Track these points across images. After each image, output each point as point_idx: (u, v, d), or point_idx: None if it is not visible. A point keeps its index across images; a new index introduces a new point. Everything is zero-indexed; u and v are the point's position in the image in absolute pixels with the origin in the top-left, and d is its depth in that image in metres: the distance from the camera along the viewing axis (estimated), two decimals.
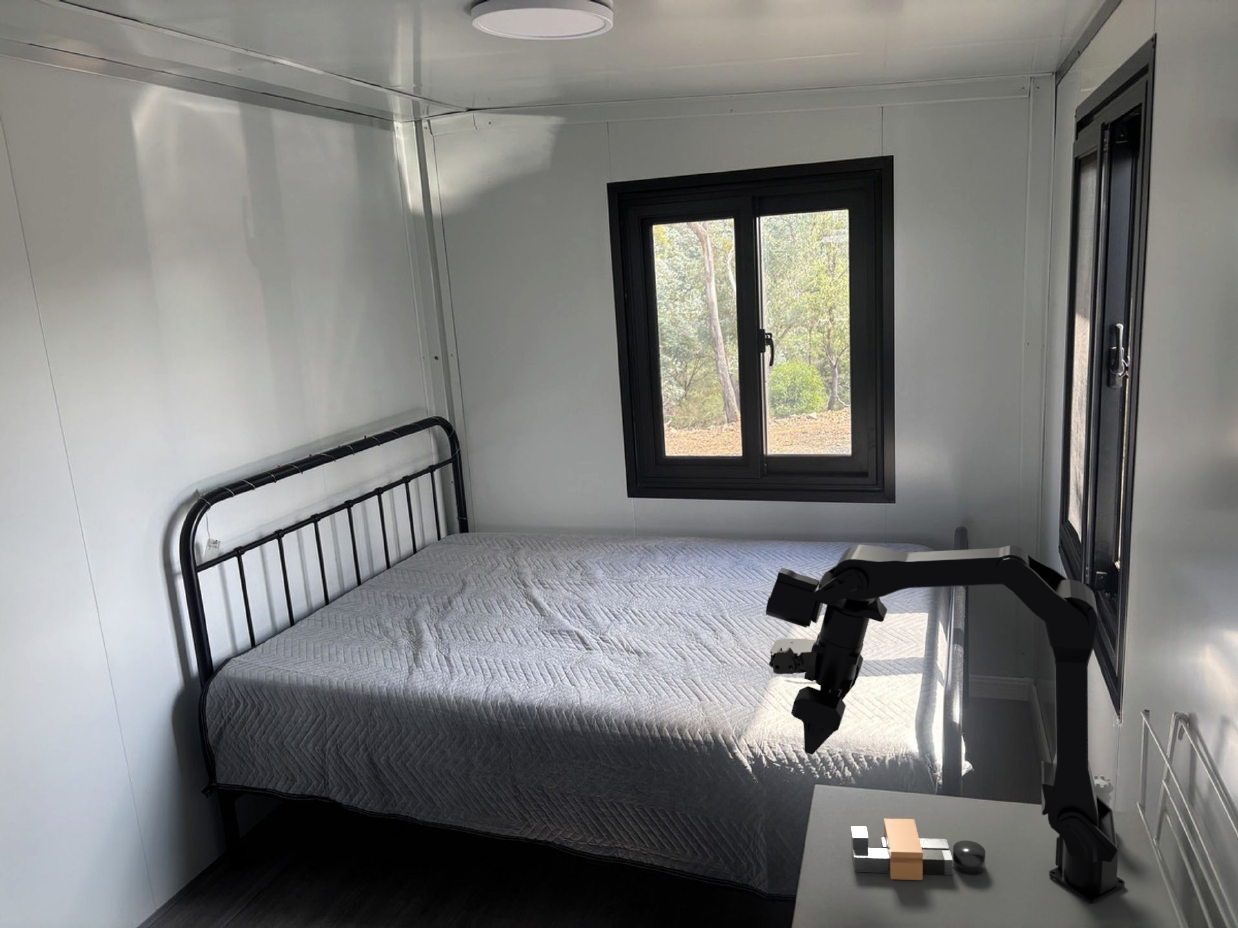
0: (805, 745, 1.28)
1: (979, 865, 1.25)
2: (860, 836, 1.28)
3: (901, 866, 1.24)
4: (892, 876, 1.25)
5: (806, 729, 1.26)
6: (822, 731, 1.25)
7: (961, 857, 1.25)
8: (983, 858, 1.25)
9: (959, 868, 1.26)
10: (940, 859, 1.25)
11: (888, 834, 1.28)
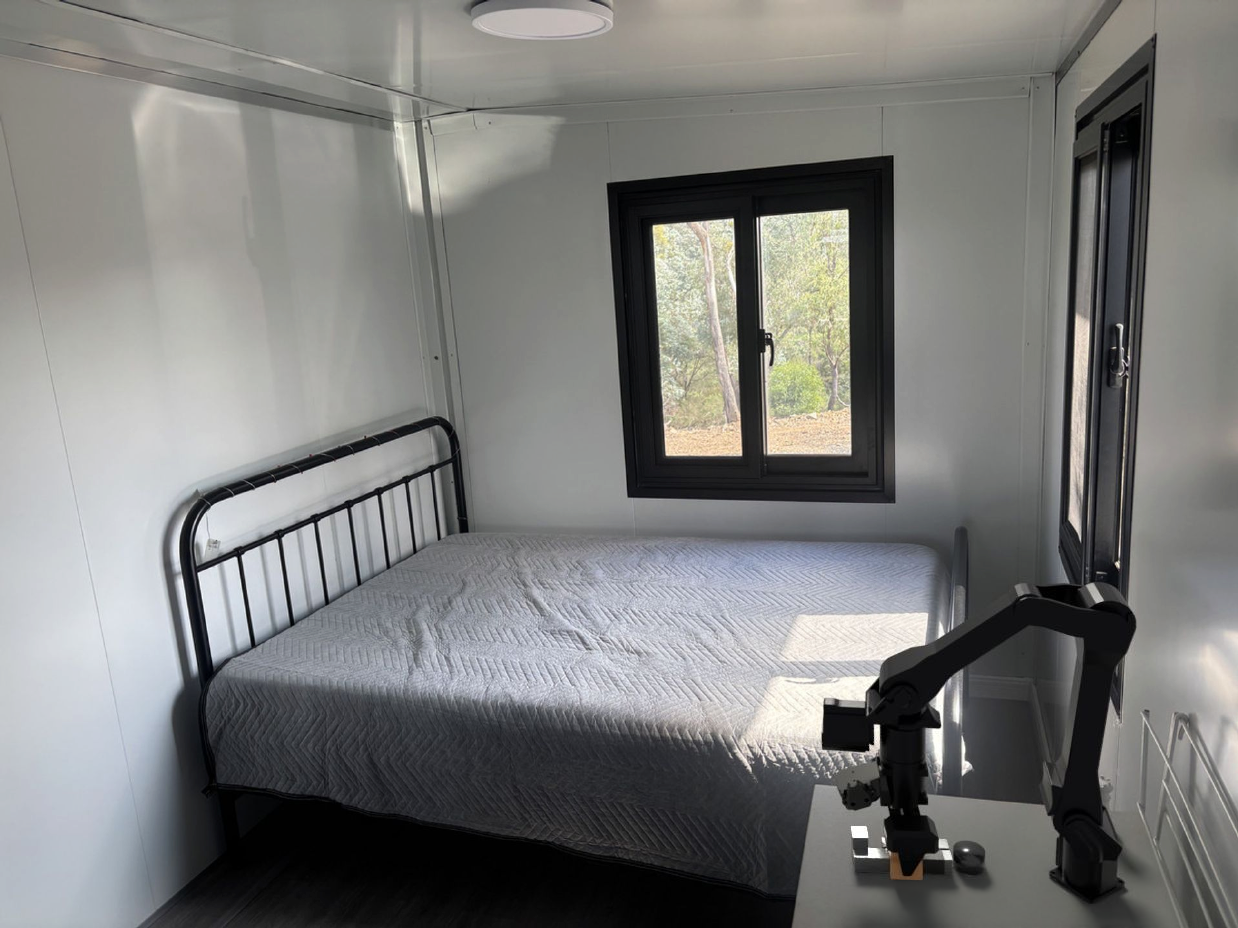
0: (902, 869, 1.24)
1: (979, 865, 1.25)
2: (860, 836, 1.28)
3: None
4: (892, 876, 1.25)
5: (901, 854, 1.22)
6: None
7: (961, 857, 1.25)
8: (983, 858, 1.25)
9: (959, 868, 1.26)
10: (940, 859, 1.25)
11: None
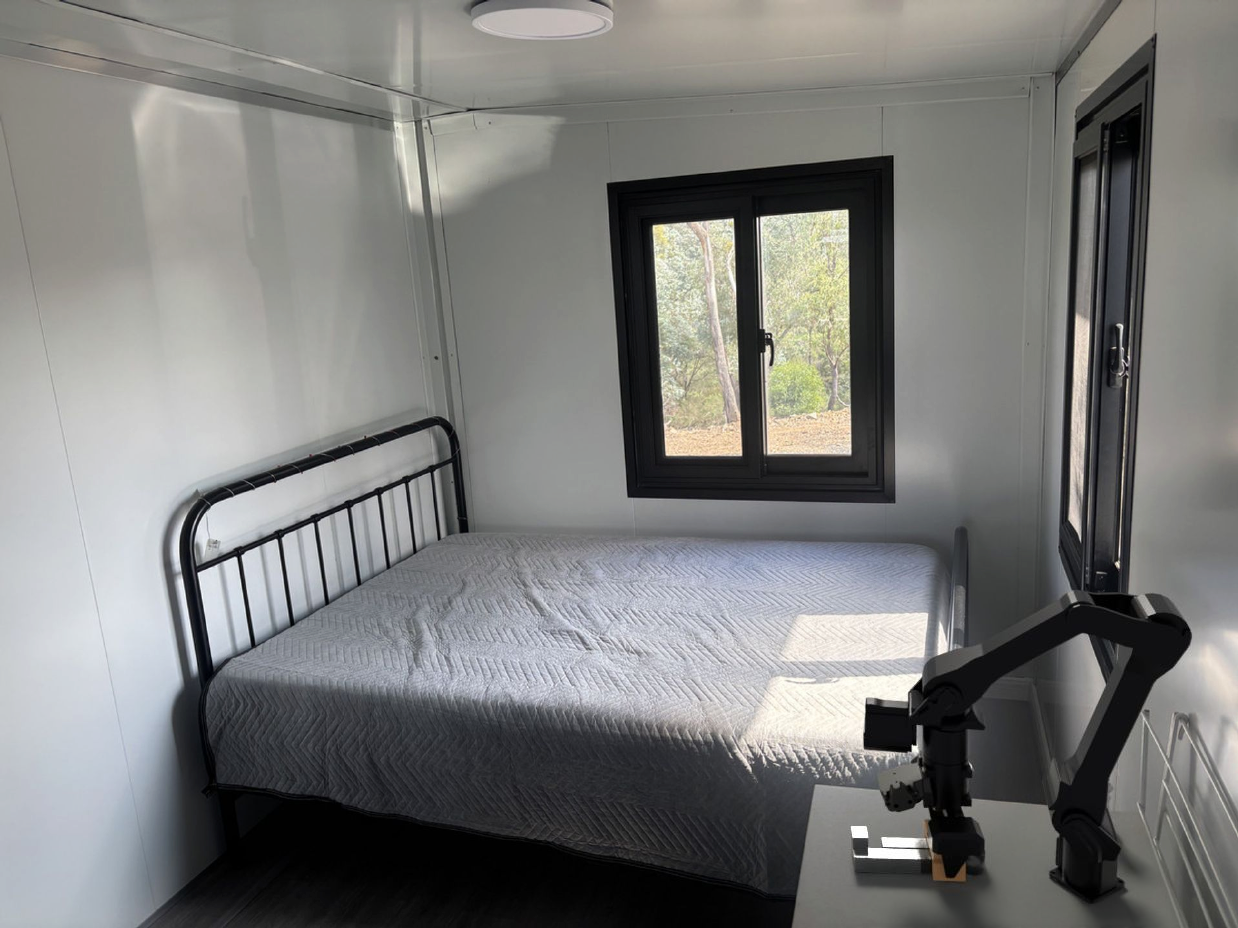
0: (946, 871, 1.23)
1: (979, 865, 1.25)
2: (860, 836, 1.28)
3: None
4: (934, 877, 1.24)
5: (944, 855, 1.21)
6: None
7: None
8: (983, 858, 1.25)
9: None
10: None
11: None
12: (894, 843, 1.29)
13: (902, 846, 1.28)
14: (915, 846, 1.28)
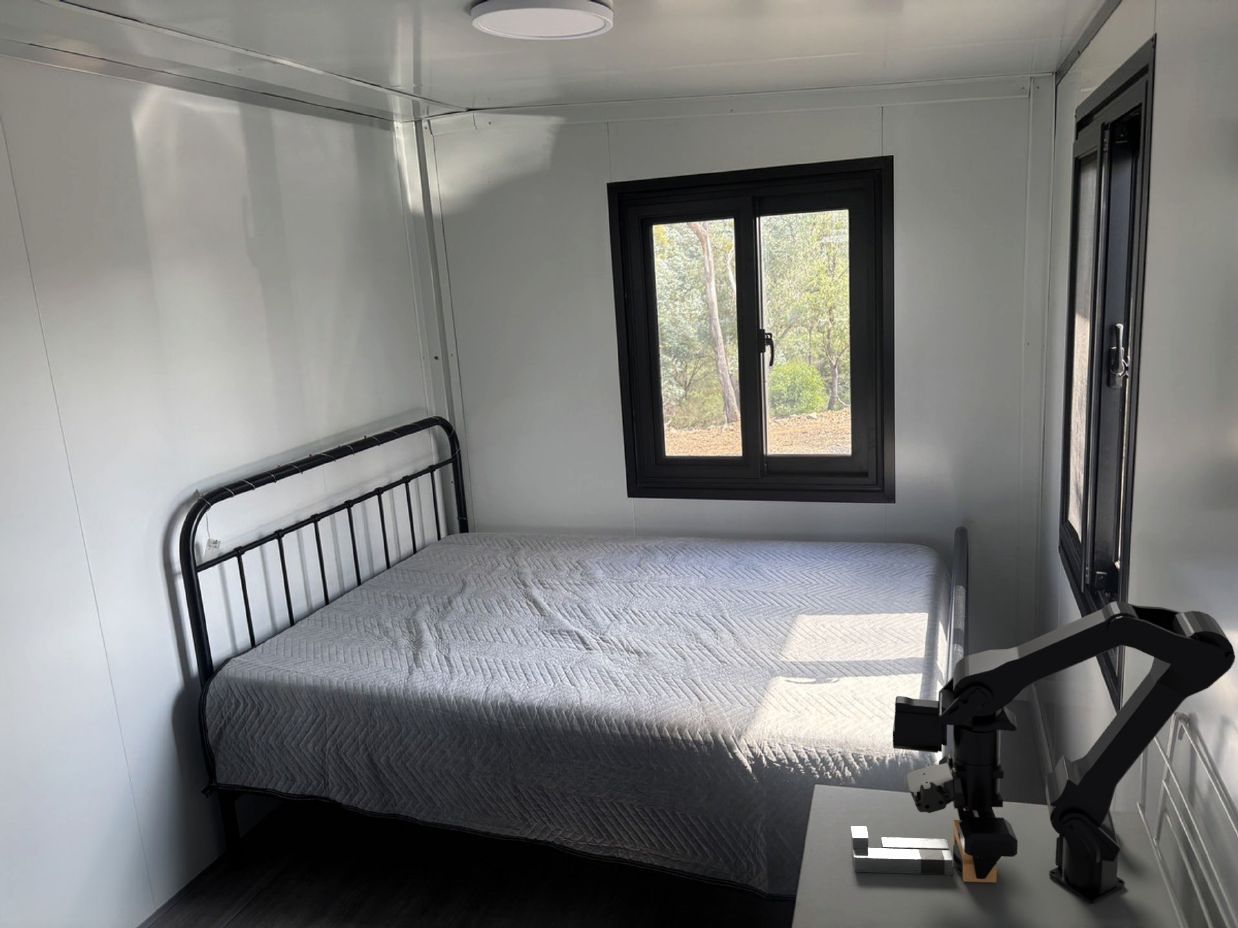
0: (976, 872, 1.22)
1: None
2: (860, 836, 1.28)
3: None
4: (965, 878, 1.24)
5: (975, 856, 1.21)
6: None
7: (961, 857, 1.25)
8: None
9: (959, 868, 1.26)
10: (940, 859, 1.25)
11: None
12: (894, 843, 1.29)
13: (902, 846, 1.28)
14: (915, 846, 1.28)
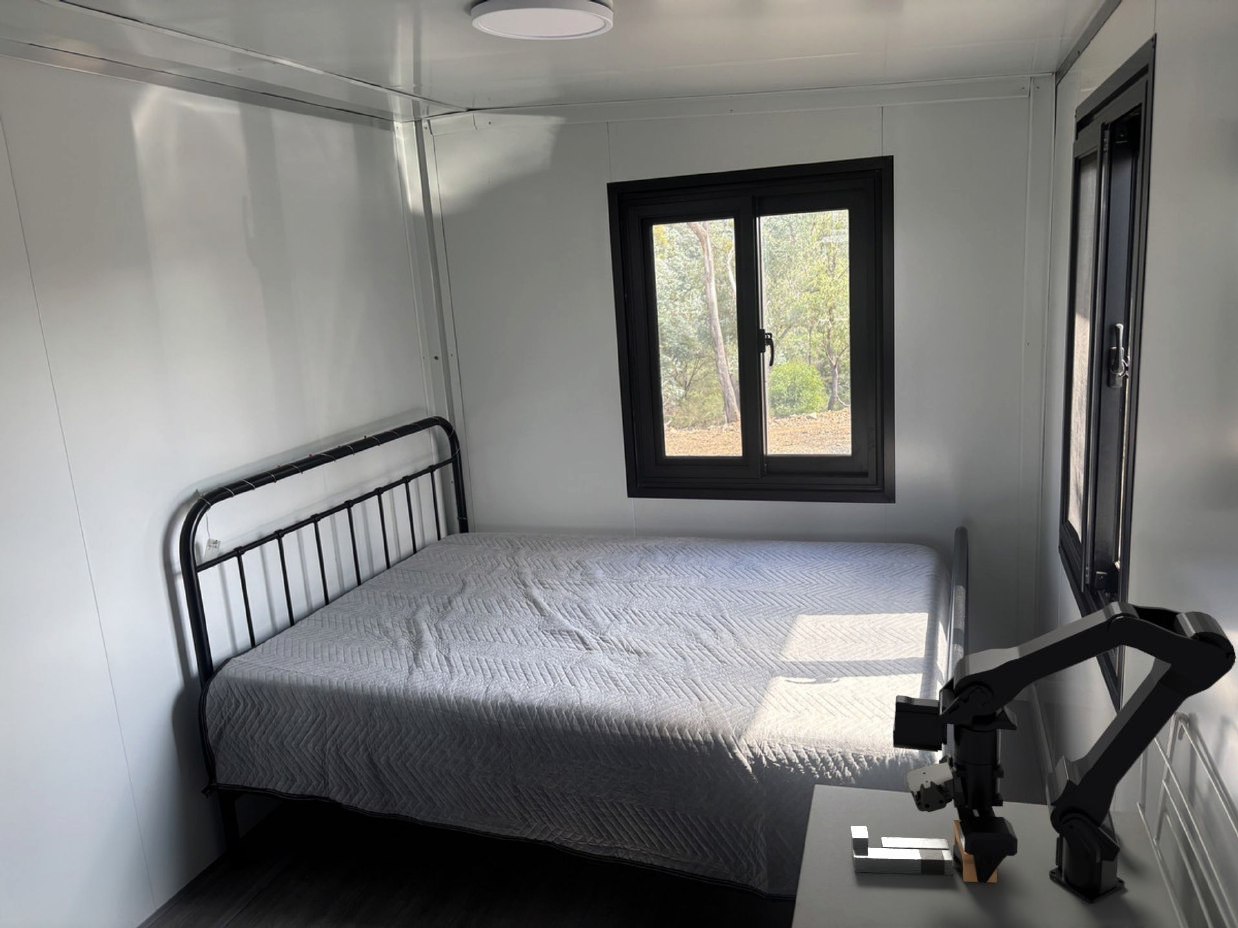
0: (978, 875, 1.22)
1: None
2: (860, 836, 1.28)
3: None
4: (965, 878, 1.24)
5: (977, 860, 1.20)
6: (994, 857, 1.20)
7: (961, 857, 1.25)
8: None
9: (959, 868, 1.26)
10: (940, 859, 1.25)
11: None
12: (894, 843, 1.29)
13: (902, 846, 1.28)
14: (915, 846, 1.28)
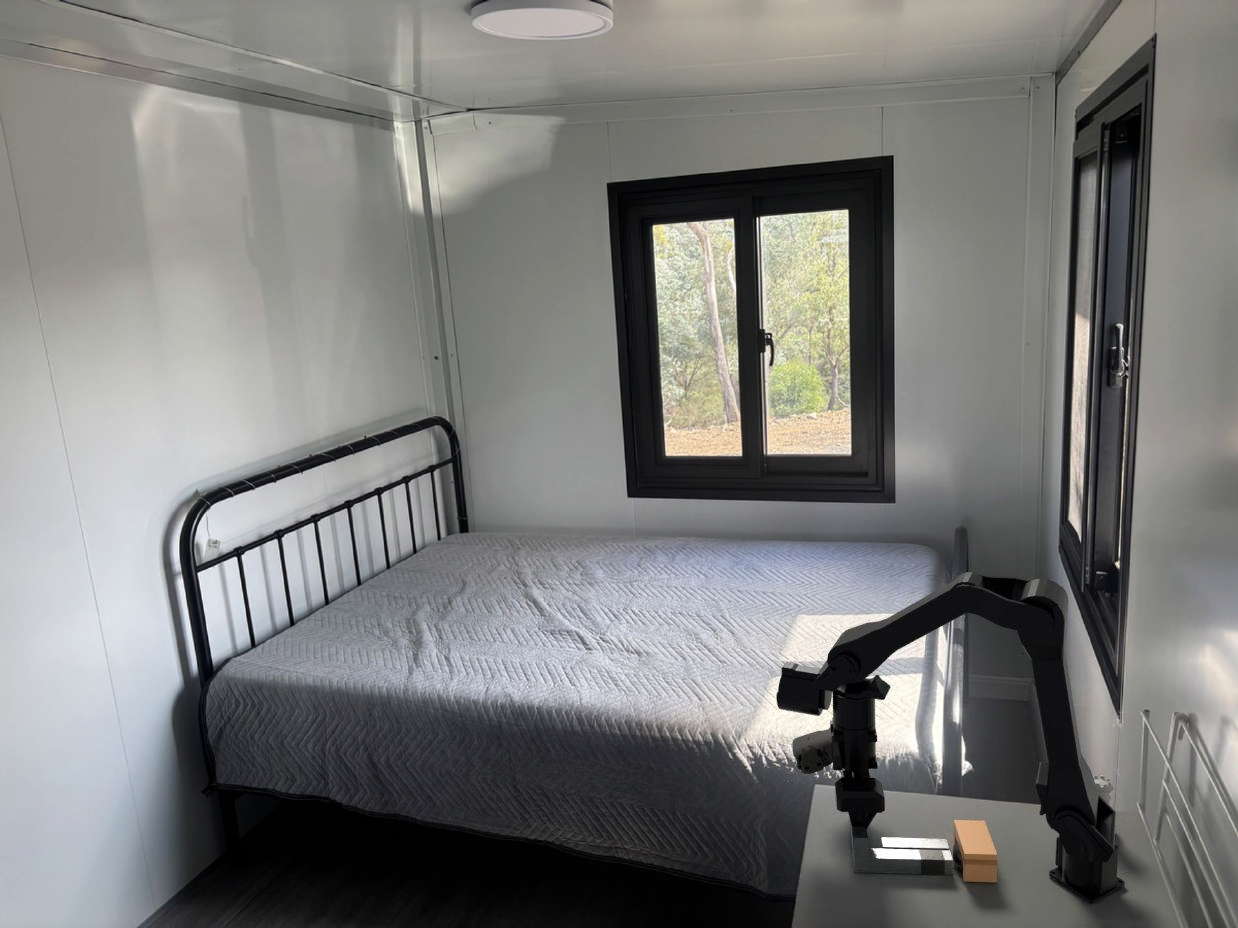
0: None
1: None
2: (860, 836, 1.28)
3: (975, 868, 1.23)
4: (965, 878, 1.24)
5: (851, 816, 1.30)
6: (867, 813, 1.30)
7: (961, 857, 1.25)
8: None
9: (959, 868, 1.26)
10: (940, 859, 1.25)
11: (960, 836, 1.26)
12: (894, 843, 1.29)
13: (902, 846, 1.28)
14: (915, 846, 1.28)
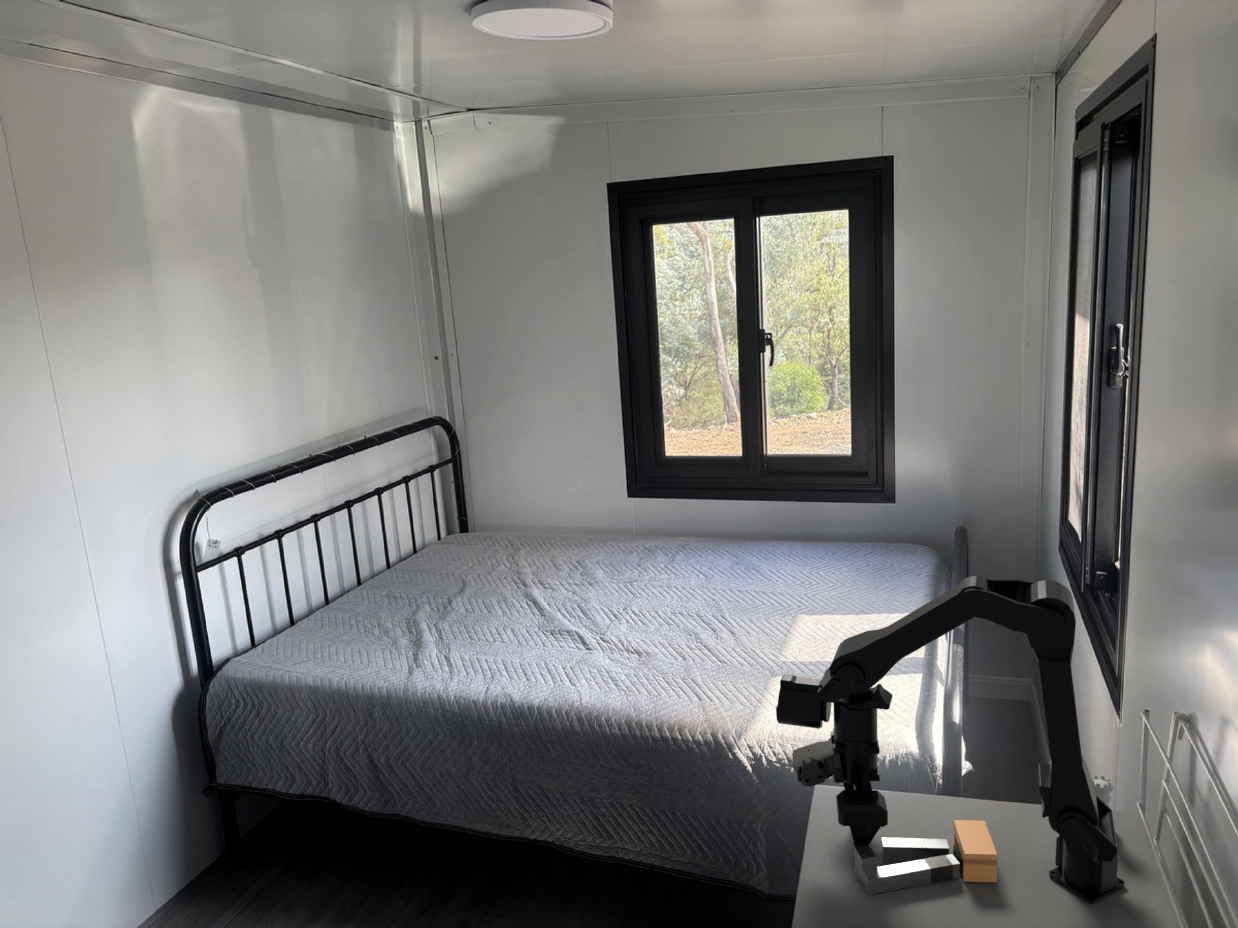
0: None
1: None
2: (868, 856, 1.24)
3: (975, 868, 1.23)
4: (965, 878, 1.24)
5: (853, 831, 1.27)
6: (869, 828, 1.26)
7: (961, 857, 1.25)
8: None
9: None
10: (948, 865, 1.24)
11: (960, 836, 1.26)
12: (894, 843, 1.29)
13: (902, 846, 1.28)
14: (915, 846, 1.28)
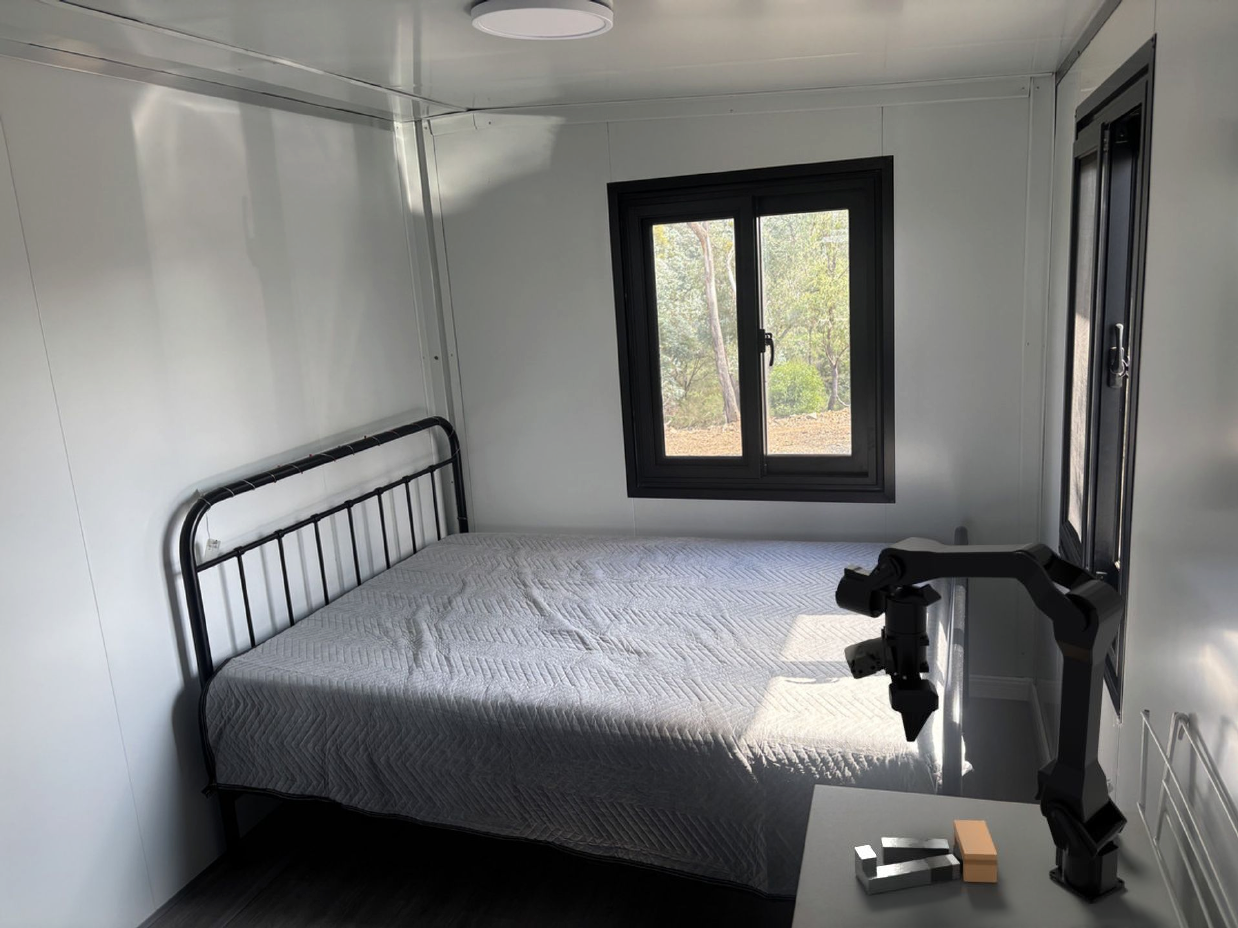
0: (906, 735, 1.35)
1: None
2: (868, 856, 1.24)
3: (975, 868, 1.23)
4: (965, 878, 1.24)
5: (905, 719, 1.33)
6: (920, 716, 1.33)
7: (961, 857, 1.25)
8: None
9: None
10: (948, 865, 1.24)
11: (960, 836, 1.26)
12: (894, 843, 1.29)
13: (902, 846, 1.28)
14: (915, 846, 1.28)
